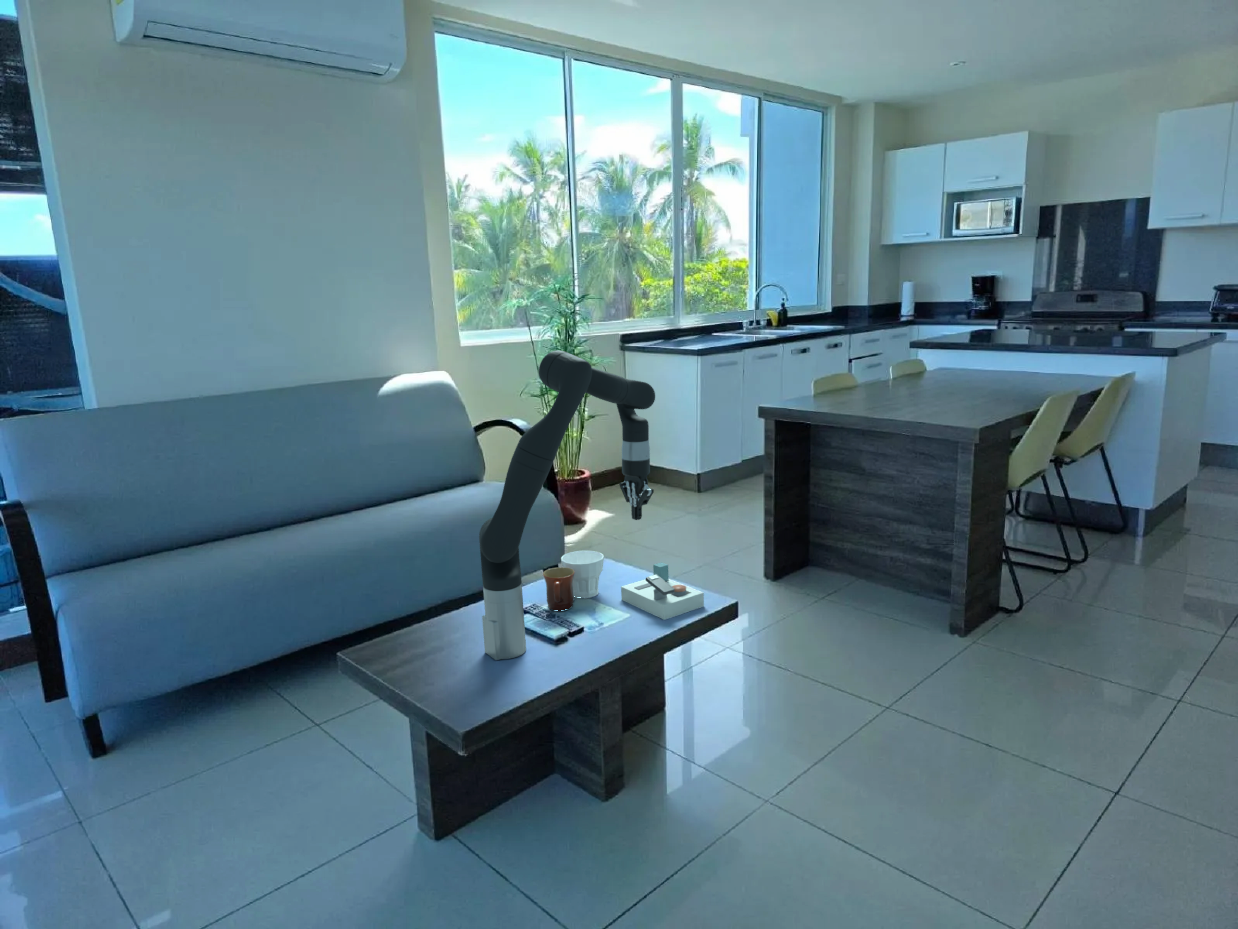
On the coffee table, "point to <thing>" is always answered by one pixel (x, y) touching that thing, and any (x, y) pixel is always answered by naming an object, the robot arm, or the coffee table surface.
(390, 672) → the coffee table surface
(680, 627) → the coffee table surface
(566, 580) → the mug
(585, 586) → the cup
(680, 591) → the push button
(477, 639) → the coffee table surface
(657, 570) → the slider knob
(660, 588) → the rocker
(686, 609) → the panel
